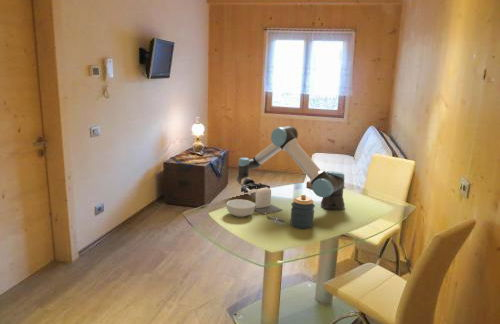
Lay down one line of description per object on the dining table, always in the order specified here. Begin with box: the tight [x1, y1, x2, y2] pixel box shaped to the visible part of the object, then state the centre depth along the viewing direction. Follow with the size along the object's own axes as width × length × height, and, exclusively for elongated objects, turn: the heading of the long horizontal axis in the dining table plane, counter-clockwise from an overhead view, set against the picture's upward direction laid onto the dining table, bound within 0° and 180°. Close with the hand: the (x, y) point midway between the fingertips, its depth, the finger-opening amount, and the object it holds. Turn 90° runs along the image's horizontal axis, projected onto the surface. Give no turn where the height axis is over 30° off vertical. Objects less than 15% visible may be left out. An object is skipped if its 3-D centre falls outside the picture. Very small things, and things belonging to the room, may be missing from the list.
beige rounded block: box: [254, 188, 272, 208], centre depth 242 cm, size 10×4×12 cm, turn 123°
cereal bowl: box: [226, 198, 255, 218], centre depth 228 cm, size 17×17×7 cm
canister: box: [289, 194, 316, 230], centre depth 215 cm, size 13×13×18 cm
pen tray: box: [306, 180, 313, 190], centre depth 297 cm, size 14×26×4 cm, turn 126°
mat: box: [253, 201, 283, 215], centre depth 243 cm, size 20×15×1 cm
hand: (260, 192), depth 245 cm, fingers open, 13 cm apart
